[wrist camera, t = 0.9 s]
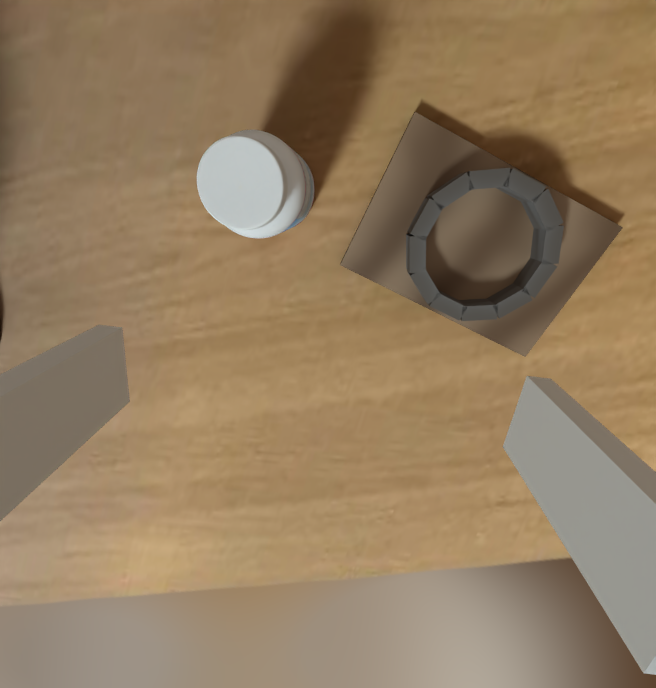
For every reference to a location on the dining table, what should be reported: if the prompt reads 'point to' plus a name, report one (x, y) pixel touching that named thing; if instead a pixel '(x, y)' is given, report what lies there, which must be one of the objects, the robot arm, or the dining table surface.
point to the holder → (475, 237)
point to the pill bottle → (255, 184)
